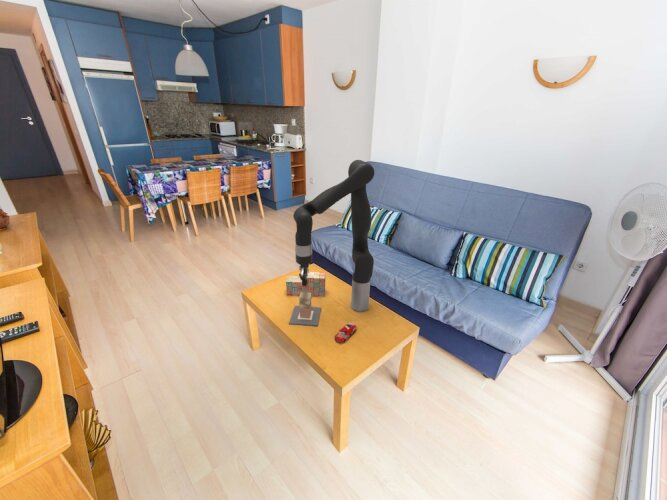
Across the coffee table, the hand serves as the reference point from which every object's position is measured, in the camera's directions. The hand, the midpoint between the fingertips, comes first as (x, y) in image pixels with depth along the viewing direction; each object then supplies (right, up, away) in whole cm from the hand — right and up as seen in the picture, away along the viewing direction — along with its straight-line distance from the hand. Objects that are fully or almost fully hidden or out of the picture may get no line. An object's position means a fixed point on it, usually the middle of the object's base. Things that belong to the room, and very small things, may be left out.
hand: (304, 284), depth 142 cm
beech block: (0, -11, +5) cm, 12 cm away
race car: (+19, -24, -3) cm, 31 cm away
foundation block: (0, -16, +8) cm, 18 cm away
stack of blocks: (-2, -8, +27) cm, 28 cm away
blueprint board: (0, -17, +8) cm, 19 cm away
